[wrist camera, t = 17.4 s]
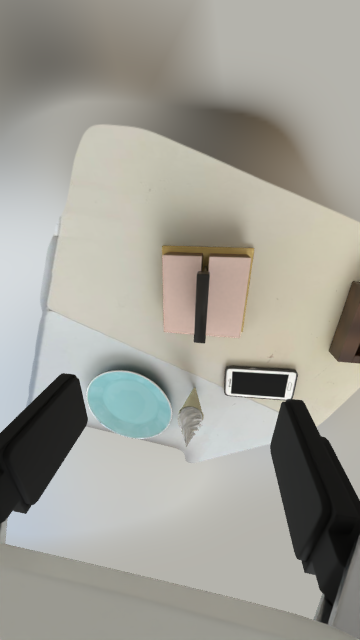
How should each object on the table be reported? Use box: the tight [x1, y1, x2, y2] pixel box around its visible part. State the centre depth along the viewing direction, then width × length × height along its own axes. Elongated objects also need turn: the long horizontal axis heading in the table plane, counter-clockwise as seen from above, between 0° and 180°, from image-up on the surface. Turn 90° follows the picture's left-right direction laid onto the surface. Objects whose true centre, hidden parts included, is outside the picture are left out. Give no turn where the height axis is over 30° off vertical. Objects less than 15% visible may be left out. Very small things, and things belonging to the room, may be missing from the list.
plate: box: [86, 370, 172, 439], centre depth 55 cm, size 22×22×3 cm
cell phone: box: [224, 366, 298, 400], centre depth 48 cm, size 8×15×1 cm, turn 92°
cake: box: [162, 246, 254, 338], centre depth 40 cm, size 16×16×5 cm
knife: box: [194, 266, 210, 343], centre depth 37 cm, size 11×2×10 cm, turn 179°
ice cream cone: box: [178, 388, 203, 446], centre depth 45 cm, size 5×5×15 cm
